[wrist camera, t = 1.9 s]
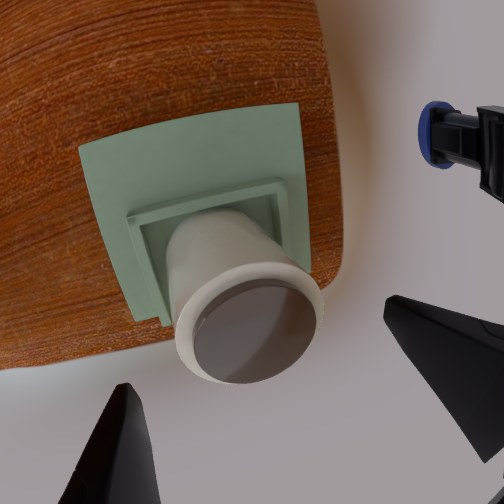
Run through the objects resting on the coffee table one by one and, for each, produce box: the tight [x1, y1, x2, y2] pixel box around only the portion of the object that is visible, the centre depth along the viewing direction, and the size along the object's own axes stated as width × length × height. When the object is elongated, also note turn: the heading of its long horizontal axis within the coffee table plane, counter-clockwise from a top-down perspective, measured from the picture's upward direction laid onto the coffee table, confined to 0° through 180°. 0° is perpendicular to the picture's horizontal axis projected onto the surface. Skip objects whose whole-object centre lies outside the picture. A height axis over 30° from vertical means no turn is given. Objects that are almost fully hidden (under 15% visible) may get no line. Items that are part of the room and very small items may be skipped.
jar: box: [165, 206, 324, 385], centre depth 14 cm, size 6×6×8 cm
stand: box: [78, 103, 311, 327], centre depth 17 cm, size 12×11×4 cm
